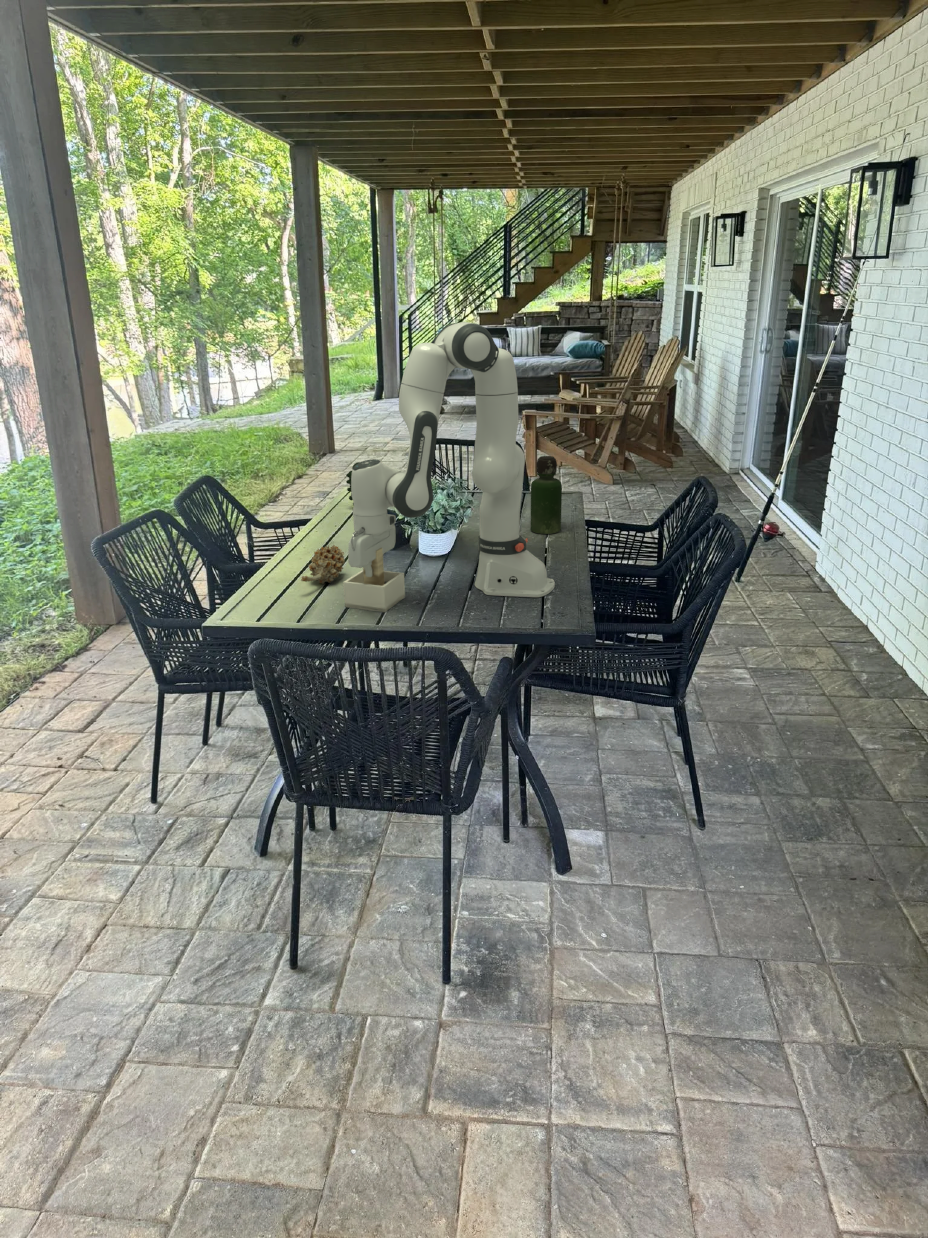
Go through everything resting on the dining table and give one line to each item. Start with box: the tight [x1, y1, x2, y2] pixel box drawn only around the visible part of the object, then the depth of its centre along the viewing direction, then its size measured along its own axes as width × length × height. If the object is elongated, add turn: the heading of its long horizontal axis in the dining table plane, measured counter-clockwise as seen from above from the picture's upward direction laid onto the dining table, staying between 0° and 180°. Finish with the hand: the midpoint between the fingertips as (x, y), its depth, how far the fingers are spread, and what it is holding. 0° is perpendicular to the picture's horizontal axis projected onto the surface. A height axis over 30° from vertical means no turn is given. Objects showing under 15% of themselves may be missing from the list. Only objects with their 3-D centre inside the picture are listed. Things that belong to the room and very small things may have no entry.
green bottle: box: [530, 455, 563, 535], centre depth 289 cm, size 10×10×25 cm
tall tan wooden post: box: [362, 548, 385, 586], centre depth 229 cm, size 4×3×13 cm, turn 68°
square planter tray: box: [342, 569, 406, 613], centre depth 231 cm, size 12×12×7 cm
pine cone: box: [300, 544, 346, 585], centre depth 245 cm, size 22×10×10 cm, turn 167°
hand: (373, 573), depth 229 cm, fingers closed on tall tan wooden post, 3 cm apart
